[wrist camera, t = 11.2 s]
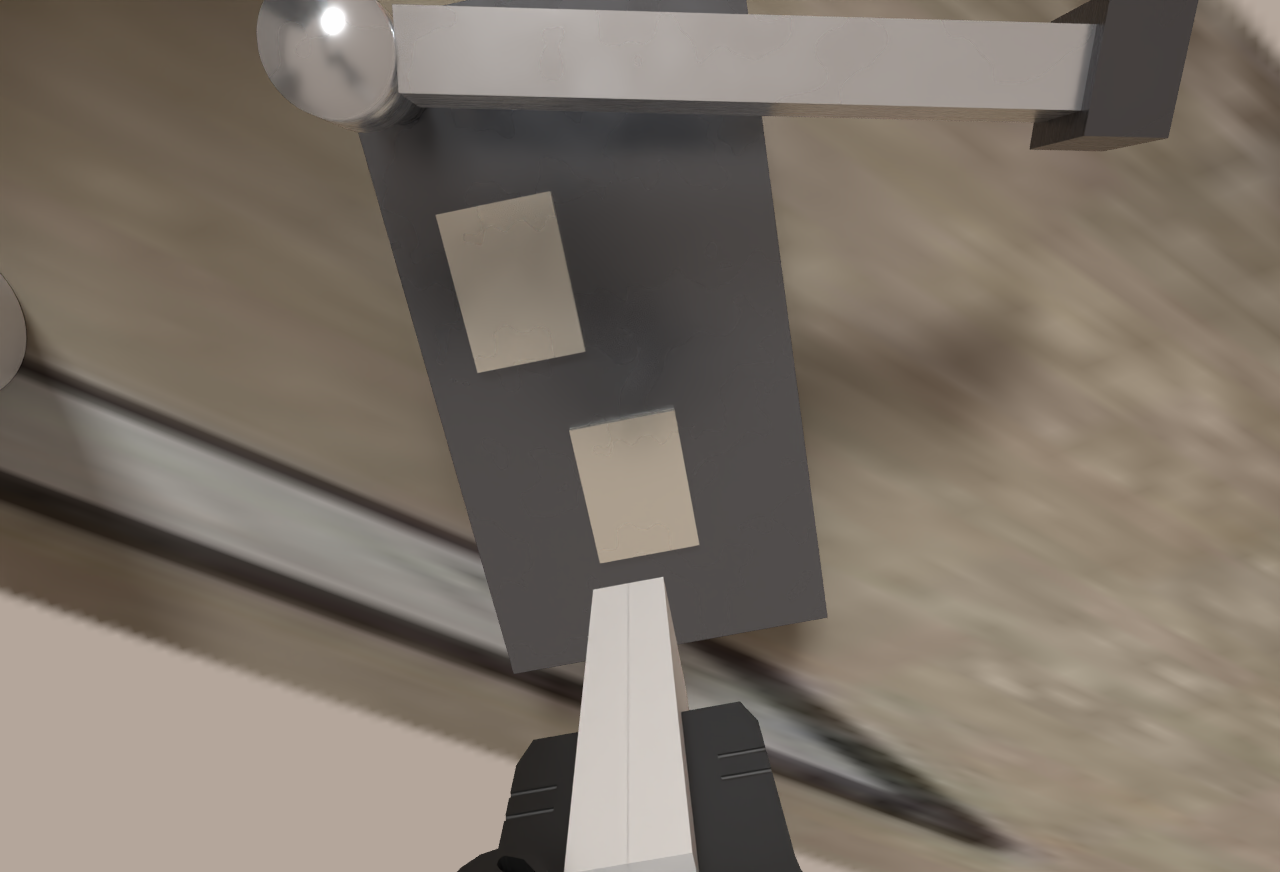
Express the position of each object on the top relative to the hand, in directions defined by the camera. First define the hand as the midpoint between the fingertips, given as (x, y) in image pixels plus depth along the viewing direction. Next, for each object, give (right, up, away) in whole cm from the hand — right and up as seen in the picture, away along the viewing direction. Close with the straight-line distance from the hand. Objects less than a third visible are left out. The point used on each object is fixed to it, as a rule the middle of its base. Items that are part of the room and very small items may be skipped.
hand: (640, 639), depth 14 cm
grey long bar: (+2, +14, +3) cm, 14 cm away
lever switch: (-1, +8, +13) cm, 15 cm away
